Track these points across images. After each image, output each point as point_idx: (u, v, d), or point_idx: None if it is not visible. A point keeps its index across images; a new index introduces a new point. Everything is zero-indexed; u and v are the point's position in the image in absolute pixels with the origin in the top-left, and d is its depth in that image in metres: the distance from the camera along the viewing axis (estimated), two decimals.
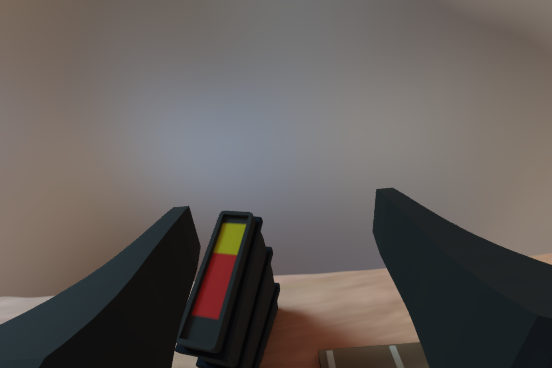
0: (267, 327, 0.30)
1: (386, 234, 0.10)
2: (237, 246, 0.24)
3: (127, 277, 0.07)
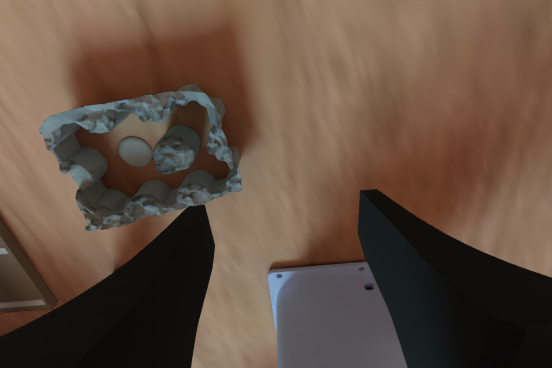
0: None
1: (369, 235, 0.10)
2: None
3: (150, 275, 0.07)
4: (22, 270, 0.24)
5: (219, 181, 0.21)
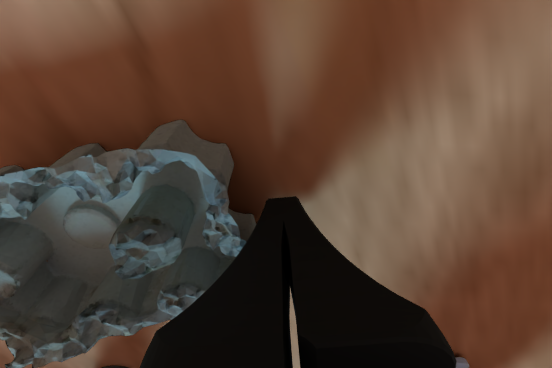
0: None
1: None
2: None
3: (273, 265, 0.07)
4: None
5: (226, 267, 0.13)
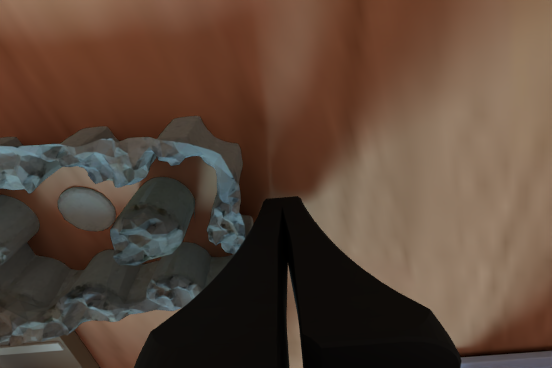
0: None
1: (286, 243, 0.11)
2: None
3: (269, 265, 0.07)
4: None
5: (218, 263, 0.14)
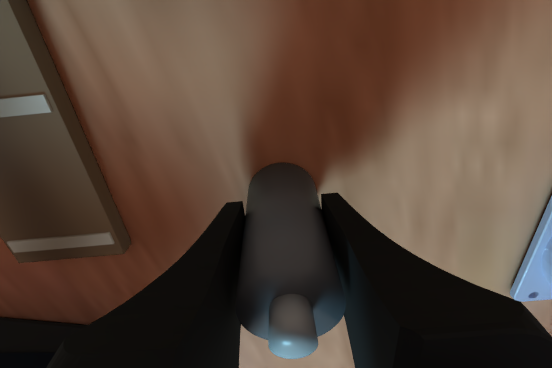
0: (12, 361, 0.15)
1: None
2: None
3: (208, 270, 0.07)
4: (77, 161, 0.11)
5: None
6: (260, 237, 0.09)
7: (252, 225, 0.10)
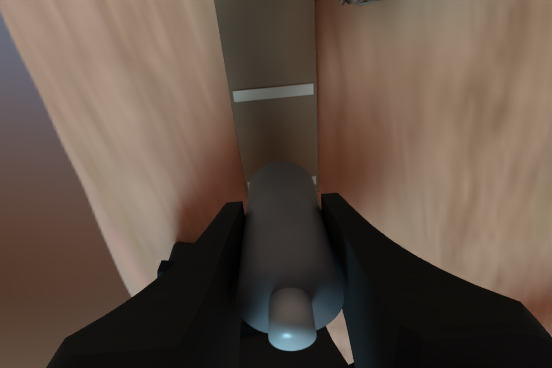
0: None
1: None
2: None
3: (208, 270, 0.07)
4: (314, 126, 0.18)
5: None
6: (258, 234, 0.09)
7: (251, 222, 0.10)
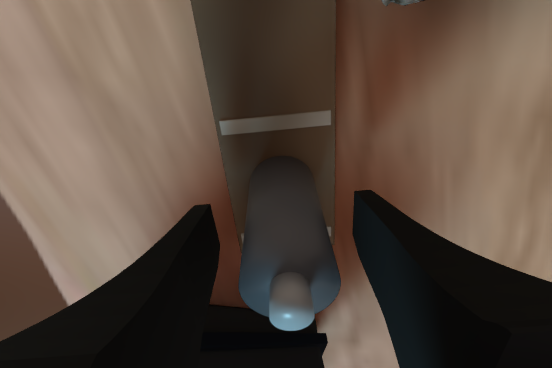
0: (223, 339, 0.17)
1: (363, 236, 0.10)
2: None
3: (159, 274, 0.07)
4: (330, 165, 0.14)
5: None
6: (259, 222, 0.09)
7: (253, 213, 0.10)
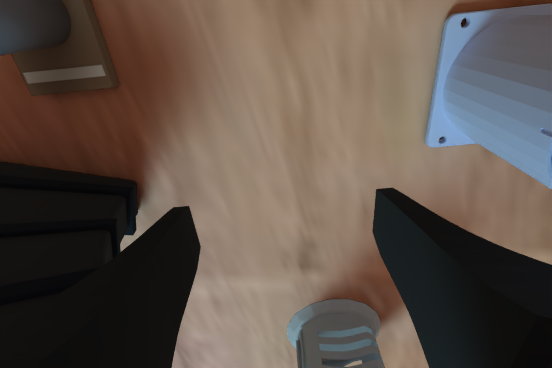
0: (26, 181, 0.19)
1: (386, 234, 0.10)
2: None
3: (126, 277, 0.07)
4: None
5: None
6: None
7: None
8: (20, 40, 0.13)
